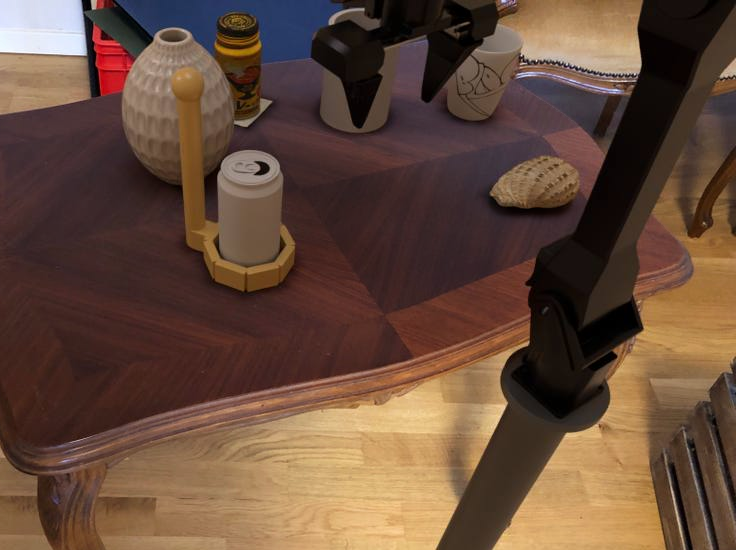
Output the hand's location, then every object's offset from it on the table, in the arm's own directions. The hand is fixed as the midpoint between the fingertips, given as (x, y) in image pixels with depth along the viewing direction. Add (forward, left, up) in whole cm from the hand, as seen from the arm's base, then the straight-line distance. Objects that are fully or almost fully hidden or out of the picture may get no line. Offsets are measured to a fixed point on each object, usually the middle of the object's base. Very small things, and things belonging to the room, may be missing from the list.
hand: (391, 113), depth 73 cm
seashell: (-8, -17, -13) cm, 23 cm away
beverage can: (+1, +17, -13) cm, 21 cm away
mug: (+12, -25, -13) cm, 30 cm away
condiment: (+28, +2, -13) cm, 30 cm away
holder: (+2, +18, -12) cm, 22 cm away
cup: (+18, -11, -13) cm, 24 cm away
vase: (+19, +15, -13) cm, 27 cm away
